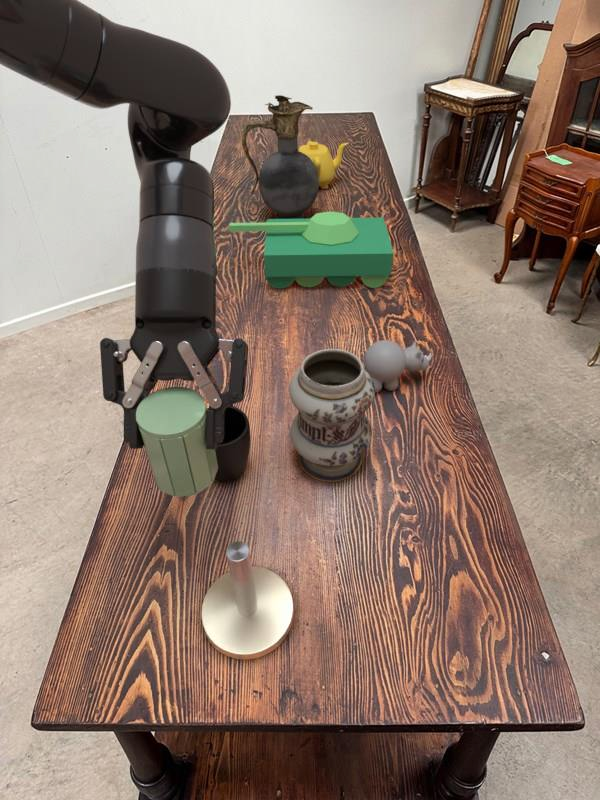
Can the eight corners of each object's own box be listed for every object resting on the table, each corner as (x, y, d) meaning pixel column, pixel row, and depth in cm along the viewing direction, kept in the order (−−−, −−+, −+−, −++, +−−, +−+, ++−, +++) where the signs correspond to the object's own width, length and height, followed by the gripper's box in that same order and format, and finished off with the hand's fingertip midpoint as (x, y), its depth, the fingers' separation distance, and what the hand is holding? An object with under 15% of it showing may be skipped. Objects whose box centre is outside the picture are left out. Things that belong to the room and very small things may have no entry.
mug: (259, 431, 87) (255, 387, 81) (250, 491, 79) (244, 447, 72) (209, 430, 88) (201, 386, 81) (194, 489, 79) (184, 445, 72)
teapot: (322, 197, 155) (322, 154, 147) (282, 186, 161) (280, 145, 153) (347, 182, 163) (349, 140, 155) (308, 172, 169) (308, 132, 161)
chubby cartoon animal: (433, 392, 94) (441, 353, 88) (366, 397, 93) (369, 359, 87) (422, 365, 99) (429, 327, 93) (358, 371, 98) (361, 333, 92)
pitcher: (321, 224, 142) (322, 98, 122) (248, 228, 141) (237, 102, 121) (316, 207, 150) (317, 86, 130) (248, 211, 149) (237, 89, 129)
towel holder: (222, 678, 60) (205, 621, 50) (190, 595, 67) (170, 531, 57) (309, 632, 63) (309, 571, 54) (270, 558, 71) (263, 492, 61)
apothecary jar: (331, 418, 89) (334, 329, 77) (385, 459, 83) (398, 368, 70) (275, 455, 84) (268, 365, 71) (328, 502, 77) (331, 412, 65)
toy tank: (232, 203, 123) (385, 201, 123) (237, 253, 132) (380, 251, 131) (224, 239, 110) (395, 236, 110) (230, 291, 119) (389, 289, 118)
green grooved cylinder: (165, 506, 53) (146, 444, 47) (147, 460, 57) (127, 398, 51) (226, 482, 55) (216, 420, 49) (204, 440, 59) (192, 378, 53)
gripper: (85, 264, 48) (82, 451, 47) (246, 263, 48) (245, 451, 47) (116, 284, 56) (114, 446, 55) (255, 284, 55) (254, 447, 55)
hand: (174, 448), depth 51 cm, fingers closed on green grooved cylinder, 6 cm apart
